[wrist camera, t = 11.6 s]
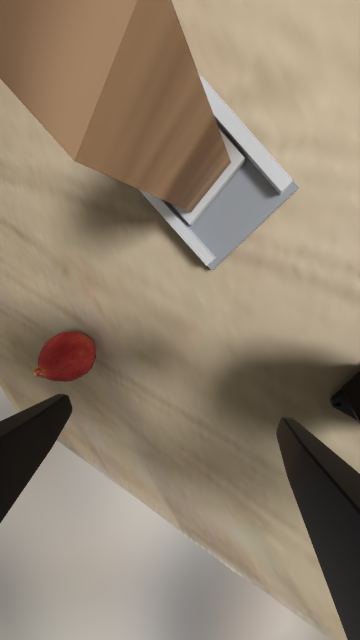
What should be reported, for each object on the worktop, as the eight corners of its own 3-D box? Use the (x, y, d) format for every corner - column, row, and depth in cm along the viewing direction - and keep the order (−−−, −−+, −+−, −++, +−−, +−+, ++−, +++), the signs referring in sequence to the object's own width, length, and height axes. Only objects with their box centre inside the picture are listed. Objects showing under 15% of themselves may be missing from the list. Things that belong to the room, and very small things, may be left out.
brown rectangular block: (245, 162, 14) (197, -83, 3) (192, 225, 16) (76, 195, 6) (197, 107, 14) (1, -311, 3) (152, 180, 16) (-35, 71, 6)
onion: (114, 362, 27) (62, 403, 20) (83, 359, 29) (28, 396, 22) (102, 322, 25) (41, 352, 18) (71, 323, 27) (6, 350, 20)
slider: (296, 190, 14) (301, 183, 12) (213, 269, 18) (208, 272, 16) (154, 27, 14) (140, 0, 12) (102, 144, 18) (86, 135, 16)
